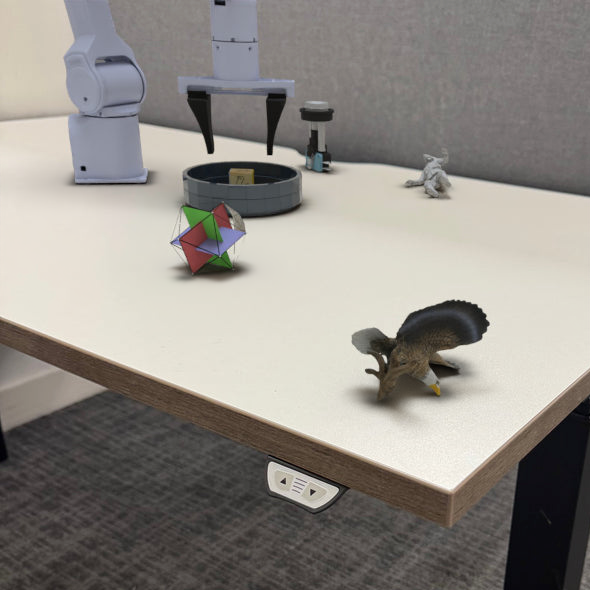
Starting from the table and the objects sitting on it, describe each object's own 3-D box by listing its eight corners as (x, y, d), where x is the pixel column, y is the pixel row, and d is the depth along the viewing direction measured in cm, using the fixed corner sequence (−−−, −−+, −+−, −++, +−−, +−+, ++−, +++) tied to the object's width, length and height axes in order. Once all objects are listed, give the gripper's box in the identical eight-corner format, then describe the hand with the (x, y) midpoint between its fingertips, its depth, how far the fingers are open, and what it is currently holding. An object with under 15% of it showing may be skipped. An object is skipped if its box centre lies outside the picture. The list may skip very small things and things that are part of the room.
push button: (344, 172, 124) (344, 105, 120) (314, 175, 122) (313, 106, 117) (323, 164, 129) (323, 99, 124) (294, 167, 126) (293, 100, 122)
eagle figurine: (446, 412, 52) (510, 348, 58) (392, 320, 51) (464, 263, 57) (374, 430, 58) (439, 370, 64) (323, 348, 56) (395, 294, 62)
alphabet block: (231, 190, 108) (230, 167, 107) (254, 190, 108) (253, 168, 107) (229, 195, 105) (228, 172, 104) (253, 195, 106) (252, 172, 104)
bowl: (184, 219, 96) (181, 186, 94) (185, 190, 109) (182, 160, 107) (308, 217, 100) (308, 185, 98) (295, 189, 113) (294, 160, 111)
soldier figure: (409, 204, 112) (395, 161, 120) (430, 224, 115) (414, 180, 123) (452, 168, 109) (434, 126, 117) (472, 189, 112) (453, 147, 120)
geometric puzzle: (195, 267, 74) (227, 190, 74) (143, 253, 77) (175, 178, 77) (239, 295, 80) (268, 223, 81) (190, 280, 83) (219, 211, 84)
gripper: (294, 41, 102) (296, 149, 109) (179, 36, 101) (188, 146, 107) (293, 44, 96) (295, 159, 102) (171, 40, 94) (181, 156, 101)
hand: (240, 153), depth 104 cm, fingers open, 7 cm apart
